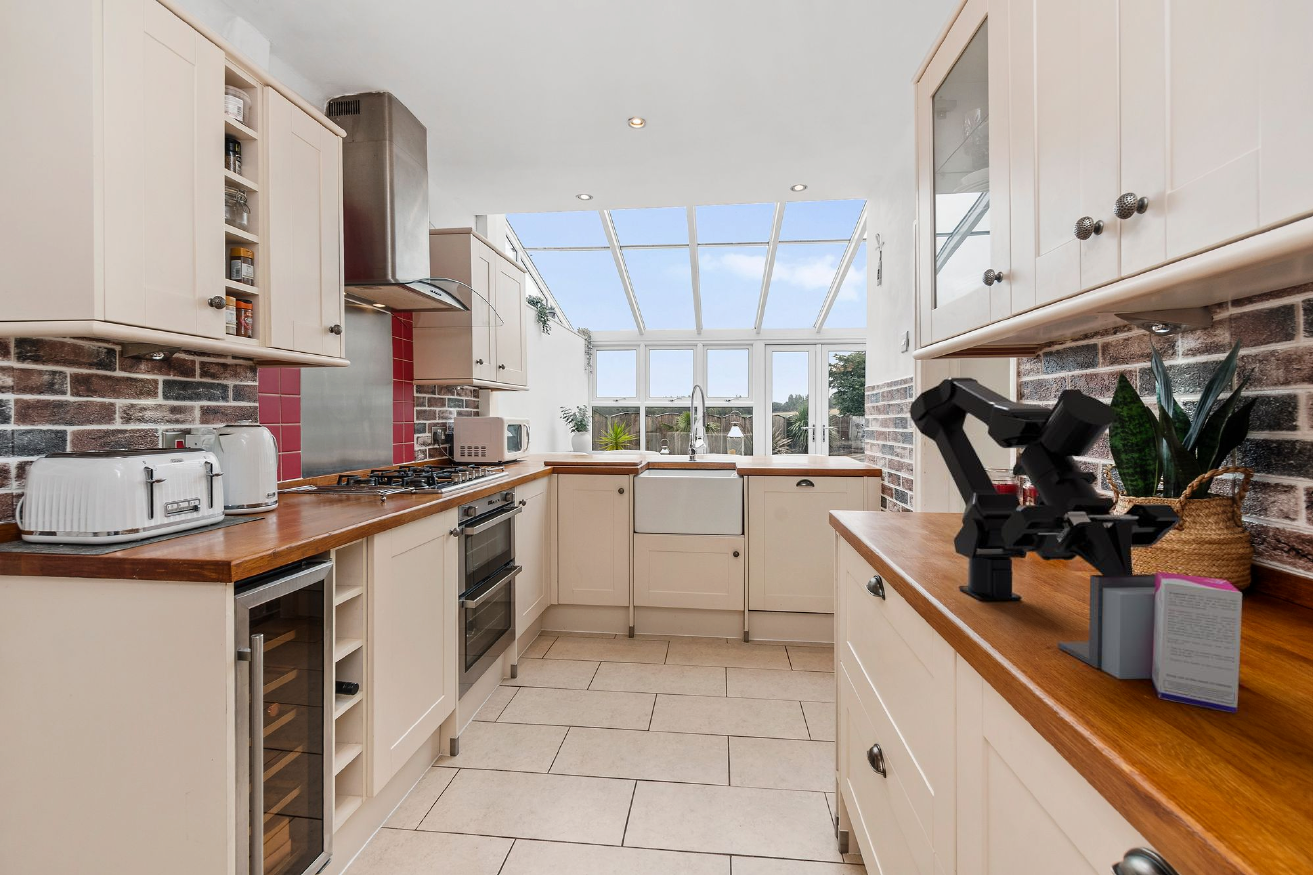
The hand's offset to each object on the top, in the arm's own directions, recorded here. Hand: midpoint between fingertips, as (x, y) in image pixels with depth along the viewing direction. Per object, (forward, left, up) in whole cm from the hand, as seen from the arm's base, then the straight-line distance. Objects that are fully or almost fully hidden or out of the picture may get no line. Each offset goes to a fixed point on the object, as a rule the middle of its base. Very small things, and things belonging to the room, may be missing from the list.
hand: (1127, 588), depth 66 cm
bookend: (-2, 0, -8) cm, 9 cm away
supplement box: (+8, 0, -9) cm, 12 cm away
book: (+3, 0, -8) cm, 9 cm away
